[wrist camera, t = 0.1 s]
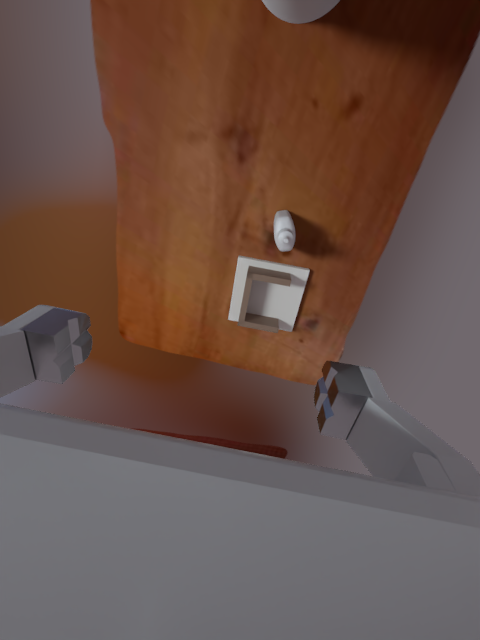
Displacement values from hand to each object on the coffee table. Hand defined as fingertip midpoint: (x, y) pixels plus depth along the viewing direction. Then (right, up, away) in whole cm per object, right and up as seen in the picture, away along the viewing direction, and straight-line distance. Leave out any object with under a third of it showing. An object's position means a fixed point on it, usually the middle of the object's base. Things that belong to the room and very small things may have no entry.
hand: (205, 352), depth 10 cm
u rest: (+7, +6, +50) cm, 51 cm away
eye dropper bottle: (+9, +18, +43) cm, 48 cm away
